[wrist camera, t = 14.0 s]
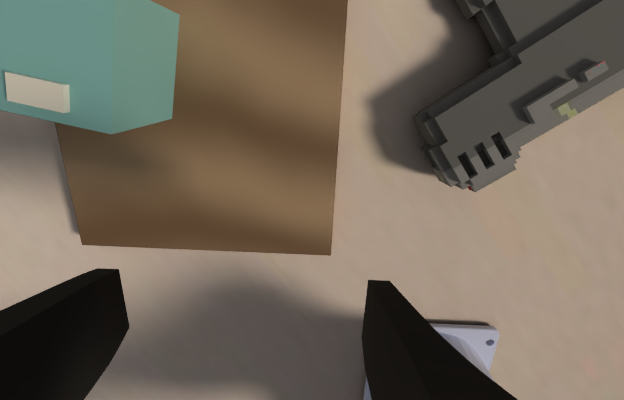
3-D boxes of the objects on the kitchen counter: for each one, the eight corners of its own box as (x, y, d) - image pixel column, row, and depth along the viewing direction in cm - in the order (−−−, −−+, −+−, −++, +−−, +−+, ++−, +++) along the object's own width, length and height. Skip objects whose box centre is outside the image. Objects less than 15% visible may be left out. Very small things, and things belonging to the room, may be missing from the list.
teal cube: (73, -12, 14) (-58, -61, 9) (179, 14, 15) (107, -20, 10) (75, 97, 16) (-36, 104, 11) (172, 118, 16) (106, 135, 11)
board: (329, 247, 19) (332, 286, 16) (93, 237, 19) (39, 274, 16) (348, -33, 15) (358, -73, 11) (34, -46, 15) (-63, -90, 11)
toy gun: (345, 2, 13) (465, 205, 15) (783, -325, 10) (885, -31, 12) (345, 28, 17) (442, 190, 18) (671, -210, 14) (759, 6, 15)
